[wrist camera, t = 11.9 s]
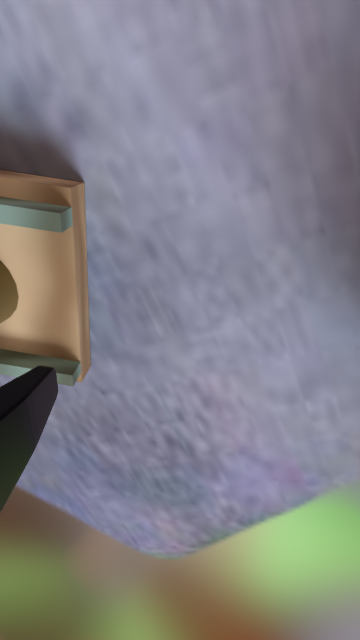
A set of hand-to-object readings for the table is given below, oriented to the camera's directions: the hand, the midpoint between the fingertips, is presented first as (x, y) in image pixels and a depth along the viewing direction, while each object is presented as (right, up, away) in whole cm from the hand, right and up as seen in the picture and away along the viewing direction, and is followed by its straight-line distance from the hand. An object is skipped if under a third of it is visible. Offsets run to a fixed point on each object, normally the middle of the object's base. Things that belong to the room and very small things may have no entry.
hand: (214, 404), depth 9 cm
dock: (-14, +6, +14) cm, 21 cm away
